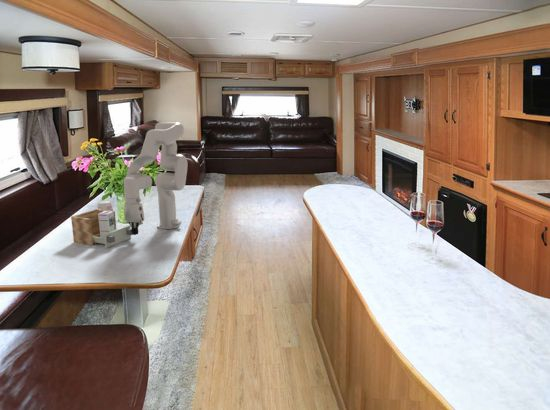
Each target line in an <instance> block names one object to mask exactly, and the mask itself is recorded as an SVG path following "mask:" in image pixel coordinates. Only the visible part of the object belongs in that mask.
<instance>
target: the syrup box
mask: <svg viewBox="0 0 550 410" xmlns="http://www.w3.org/2000/svg"><path fill="white" fill-rule="evenodd" d="M113 211H114V210H113ZM113 211H103V212H101V213H99V214H98V218H99V227H100V235H101V238H104V234H106V233H109V232H112V231H115V221H114V212H113Z"/></svg>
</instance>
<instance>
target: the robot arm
mask: <svg viewBox="0 0 550 410" xmlns="http://www.w3.org/2000/svg"><path fill="white" fill-rule="evenodd" d="M184 133H185V127H184V125H183V124H182V123H180V122H174V121H171V122H170V121H169V122H168V121H167V122H166V121H162V122H157V123H156V124H155V126H154V129H153V128H152V129H149V130H148V131H147V133H146V135H145V139H144V141H143V145H142V147H141V148H142V149H141V152H140V154H139V155H138V156H137V157H135V159H134V160H132V162H131V163H130V164H129V166H128V168H127V171H126V175H125V178H124V179H123V192H124V206H123V215H124V216H123V217H124V220H125V223H126V224H128V225H129V226H130V228H132V235H131V236H136V235H138V234H139V227H140V226H141V225H143V224H144V221H145V213H144V207H143V203H142V199H141V194H140V190H145V189H146V190H147V189H149V188H150V187H152V184H153V178H152V177H151V176H150V175H148V174H143V173H142V174H141V173H139V172H140V170H141V169H142V168H143V167H144V166H146V165H148V164H151V163H152V162H154V161H156V160H157V156H158V154H159V149H160V147H161V153H160V162H159V165H160V168H161V170H164V171H171V172H160V173H158V174H157V175H156V176H155V178H154V183H155V186H156V187H155V188H156V191H157V198H158V199H157V200H158V213H159V214H158V216H159V223H158V224H157V226H156V227H157V228H158V229H160V230H172V229H177V228H179V227H180V226H181V224H182V221H179V218H177V207H176V206H177V205H176V196H175V192H174V191H179V192H180V191H183V190H184V189H185V187H186V183H187V175H188V159H187V158H186V156H185V155H183V154H179V153H178V154H177V152H178V144H177V142H176V141H177V140H179V139H180V138H182V137H183V136H184ZM172 172H173V173H172Z"/></svg>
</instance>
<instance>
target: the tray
mask: <svg viewBox="0 0 550 410" xmlns="http://www.w3.org/2000/svg"><path fill="white" fill-rule="evenodd" d="M132 236H133V235H132V227H130V224H128V225H126V226H123V227H121V228H118V229H117V228H116V230H115V231H112V232H109V233H106V234H104V238H101V236H100V237H95V236H93V242H97V243H96V244H103V245H104V248H106V249H108V248H110V247H111V246H112V247H113V246H115V245H118V244H120V243H123V242H125V241H128V240H129V239H132Z"/></svg>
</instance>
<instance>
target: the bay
mask: <svg viewBox="0 0 550 410" xmlns="http://www.w3.org/2000/svg"><path fill="white" fill-rule="evenodd" d="M103 211H108V210H101V209H98V208H95V209H93V210H90V211H85V212H83V213H80V214H76V215H71V216H70V217H71V227H72V235H73V237H72V239H73V243H76V244H80V245H81V244H82V245H87V246H95V245H96V244H98V243H97V242H93V236H95V237H100V236H101V235H100V227H99V218H98V214H99V213H101V212H103ZM113 212H114V221H115V230H117V221H116V211H114V210H113Z"/></svg>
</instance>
